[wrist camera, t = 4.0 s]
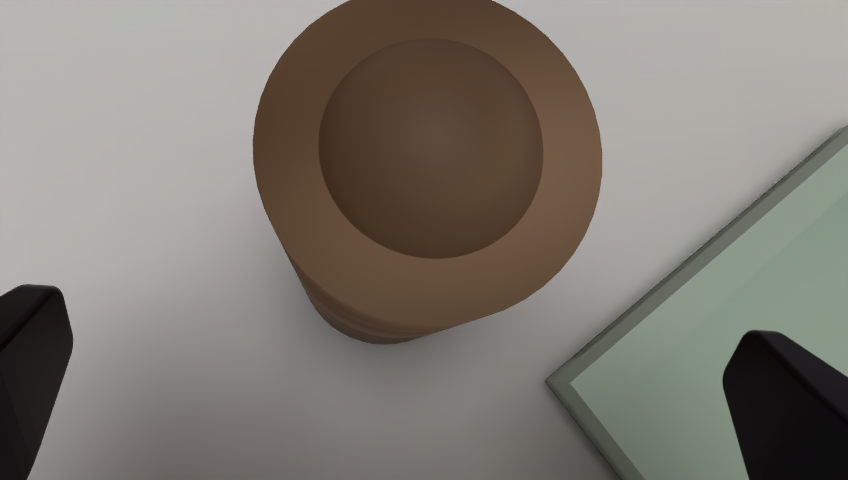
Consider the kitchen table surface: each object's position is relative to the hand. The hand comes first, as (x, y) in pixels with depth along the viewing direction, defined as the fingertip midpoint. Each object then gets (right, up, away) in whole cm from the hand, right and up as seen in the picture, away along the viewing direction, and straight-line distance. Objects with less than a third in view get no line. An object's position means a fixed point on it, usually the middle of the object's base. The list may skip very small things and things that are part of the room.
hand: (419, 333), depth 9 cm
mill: (-1, +1, +10) cm, 10 cm away
